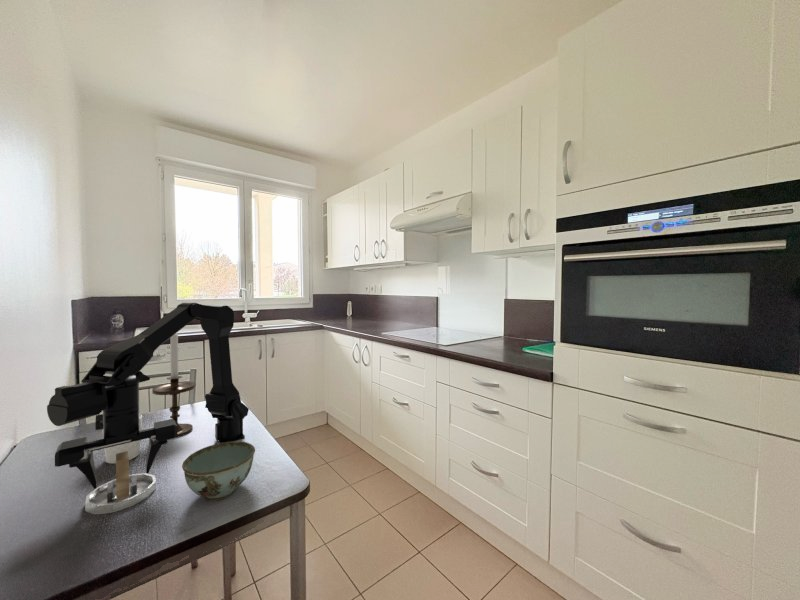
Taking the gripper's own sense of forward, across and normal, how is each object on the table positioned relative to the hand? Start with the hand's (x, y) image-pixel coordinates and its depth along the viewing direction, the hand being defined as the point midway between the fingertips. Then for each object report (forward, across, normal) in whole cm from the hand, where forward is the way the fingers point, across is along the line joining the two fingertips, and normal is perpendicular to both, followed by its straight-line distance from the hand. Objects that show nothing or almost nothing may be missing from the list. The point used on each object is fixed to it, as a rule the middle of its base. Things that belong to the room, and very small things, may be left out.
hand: (122, 479), depth 66 cm
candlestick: (+4, -12, -30) cm, 32 cm away
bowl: (+4, -16, +12) cm, 20 cm away
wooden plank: (+3, 0, 0) cm, 3 cm away
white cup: (+4, 0, -21) cm, 21 cm away
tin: (+3, 0, 0) cm, 3 cm away
